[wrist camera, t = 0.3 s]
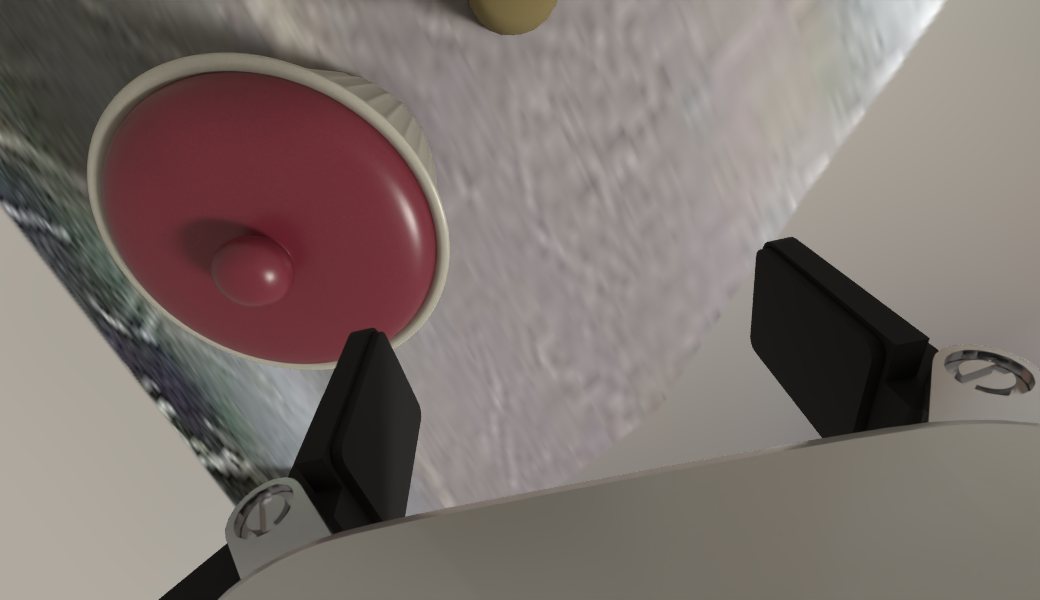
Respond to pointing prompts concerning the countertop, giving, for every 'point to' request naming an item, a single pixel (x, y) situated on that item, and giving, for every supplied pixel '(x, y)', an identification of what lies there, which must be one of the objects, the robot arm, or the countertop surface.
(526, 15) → the cork
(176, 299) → the canister
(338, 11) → the countertop surface
